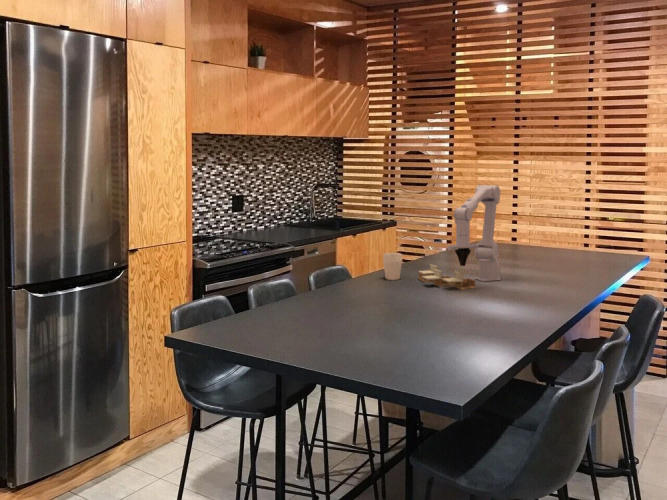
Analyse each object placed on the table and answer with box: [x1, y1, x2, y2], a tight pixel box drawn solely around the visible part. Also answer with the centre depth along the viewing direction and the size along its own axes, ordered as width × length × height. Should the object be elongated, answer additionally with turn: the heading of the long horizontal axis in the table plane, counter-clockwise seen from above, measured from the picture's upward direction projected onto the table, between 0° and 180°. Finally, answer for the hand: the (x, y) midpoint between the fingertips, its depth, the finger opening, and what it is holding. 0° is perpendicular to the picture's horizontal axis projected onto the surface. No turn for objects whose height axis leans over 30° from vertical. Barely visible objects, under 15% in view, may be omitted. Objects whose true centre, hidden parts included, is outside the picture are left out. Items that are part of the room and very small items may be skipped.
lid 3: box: [442, 271, 464, 282], centre depth 294 cm, size 7×7×3 cm
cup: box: [382, 252, 403, 281], centre depth 321 cm, size 9×9×12 cm
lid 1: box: [418, 264, 439, 275], centre depth 315 cm, size 7×7×3 cm
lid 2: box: [422, 269, 443, 280], centre depth 301 cm, size 7×7×3 cm
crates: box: [418, 272, 476, 290], centre depth 306 cm, size 15×29×3 cm, turn 15°
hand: (462, 265), depth 295 cm, fingers closed
